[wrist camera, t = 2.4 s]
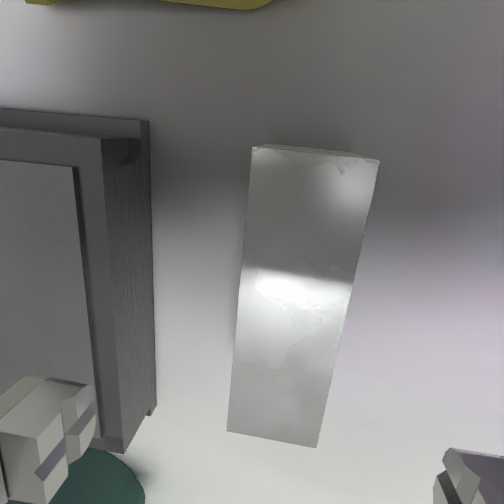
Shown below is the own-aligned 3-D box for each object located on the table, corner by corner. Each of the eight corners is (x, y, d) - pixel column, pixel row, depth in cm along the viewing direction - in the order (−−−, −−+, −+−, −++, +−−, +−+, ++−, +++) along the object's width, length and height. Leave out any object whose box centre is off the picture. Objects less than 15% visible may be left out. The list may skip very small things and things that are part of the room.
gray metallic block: (268, 143, 14) (252, 147, 9) (353, 151, 14) (380, 160, 9) (245, 354, 18) (226, 430, 13) (311, 364, 18) (315, 448, 13)
